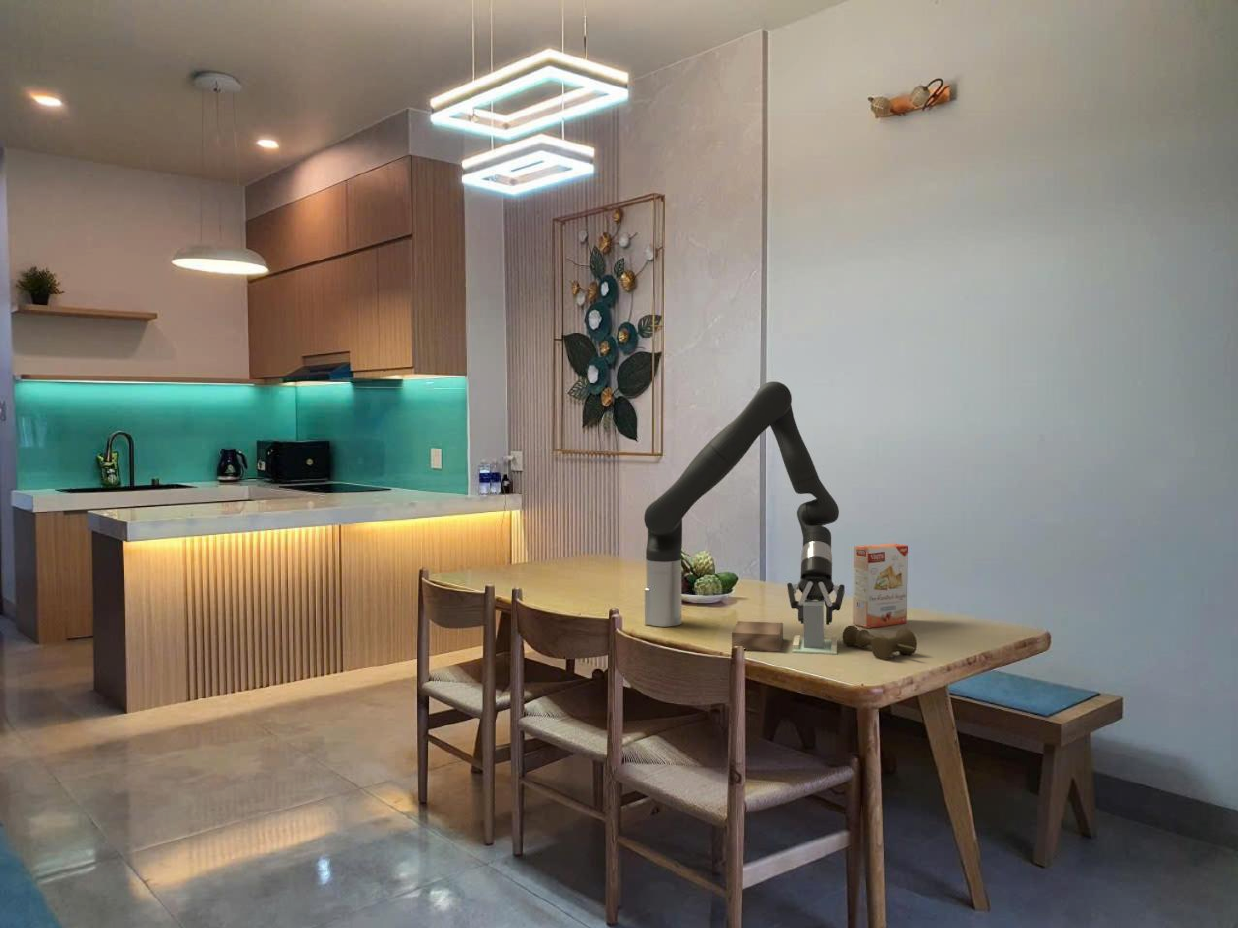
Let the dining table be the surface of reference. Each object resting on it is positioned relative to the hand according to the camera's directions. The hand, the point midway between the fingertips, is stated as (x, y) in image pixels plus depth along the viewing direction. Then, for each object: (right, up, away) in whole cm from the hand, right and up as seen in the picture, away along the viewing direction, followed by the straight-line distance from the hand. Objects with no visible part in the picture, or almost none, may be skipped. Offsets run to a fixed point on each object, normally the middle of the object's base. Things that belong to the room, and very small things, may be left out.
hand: (815, 622), depth 219 cm
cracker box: (+23, -5, +26) cm, 35 cm away
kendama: (+14, -7, -5) cm, 16 cm away
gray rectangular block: (0, -6, +2) cm, 6 cm away
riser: (-13, -6, +5) cm, 15 cm away
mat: (+1, -6, +2) cm, 7 cm away
